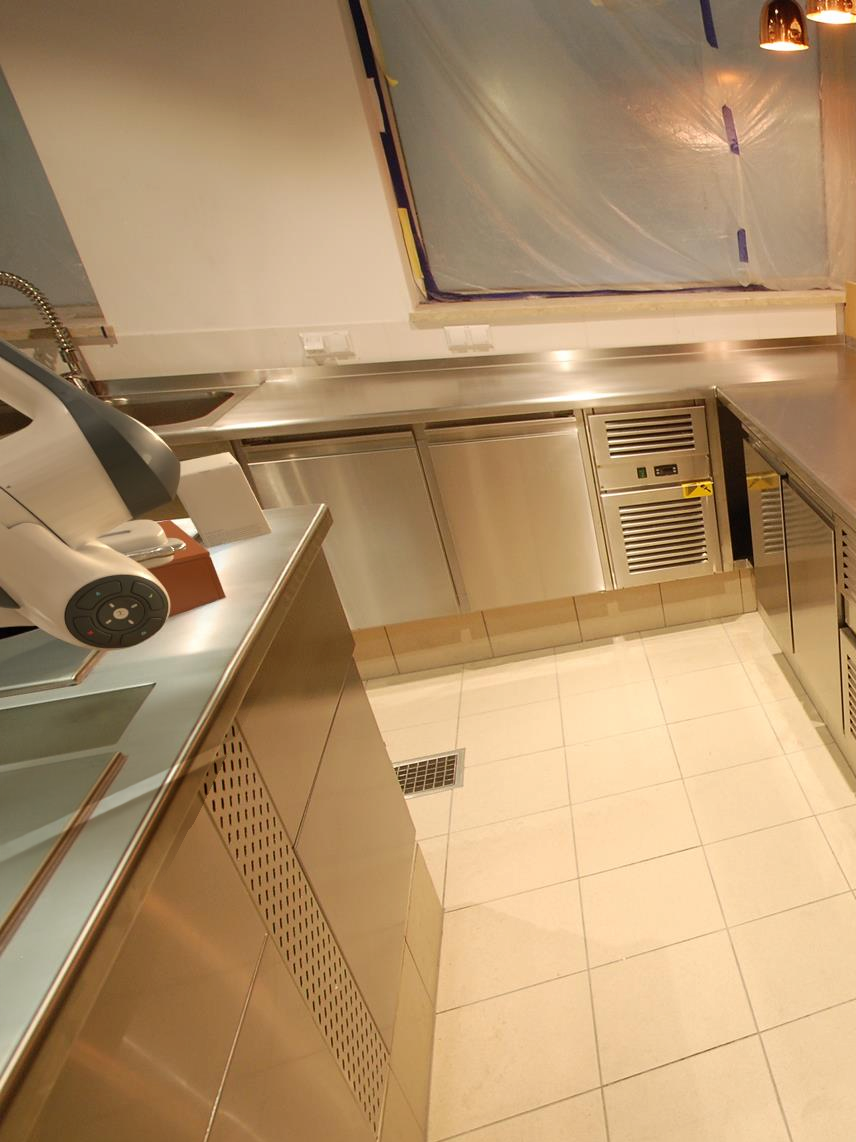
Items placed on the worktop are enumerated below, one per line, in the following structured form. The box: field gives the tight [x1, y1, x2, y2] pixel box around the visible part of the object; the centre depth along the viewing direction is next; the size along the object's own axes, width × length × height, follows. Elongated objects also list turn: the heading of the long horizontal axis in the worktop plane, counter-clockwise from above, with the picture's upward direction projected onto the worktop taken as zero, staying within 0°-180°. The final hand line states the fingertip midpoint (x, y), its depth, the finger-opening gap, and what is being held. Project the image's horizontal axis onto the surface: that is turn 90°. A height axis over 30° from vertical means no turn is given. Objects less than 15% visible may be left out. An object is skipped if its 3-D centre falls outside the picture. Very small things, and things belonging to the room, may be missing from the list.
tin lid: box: [147, 519, 211, 570], centre depth 112 cm, size 11×11×1 cm
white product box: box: [176, 451, 273, 549], centre depth 137 cm, size 9×9×15 cm
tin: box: [148, 555, 227, 619], centre depth 114 cm, size 10×11×9 cm
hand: (14, 547), depth 87 cm, fingers closed on candle, 5 cm apart
